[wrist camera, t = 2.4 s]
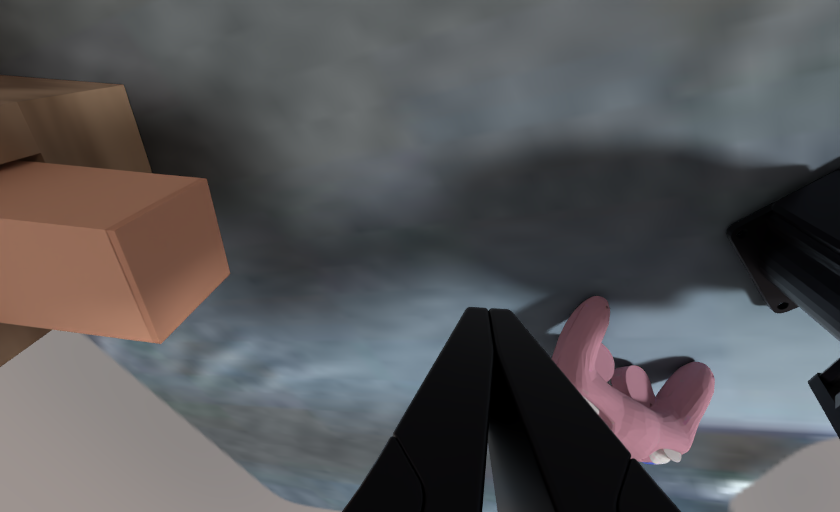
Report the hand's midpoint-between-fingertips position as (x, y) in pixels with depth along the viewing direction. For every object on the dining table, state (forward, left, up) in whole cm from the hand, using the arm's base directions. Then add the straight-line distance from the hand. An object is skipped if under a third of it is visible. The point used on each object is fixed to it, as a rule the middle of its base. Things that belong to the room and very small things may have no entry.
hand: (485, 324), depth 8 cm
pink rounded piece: (-16, +1, -13) cm, 21 cm away
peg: (+9, +13, -7) cm, 18 cm away
